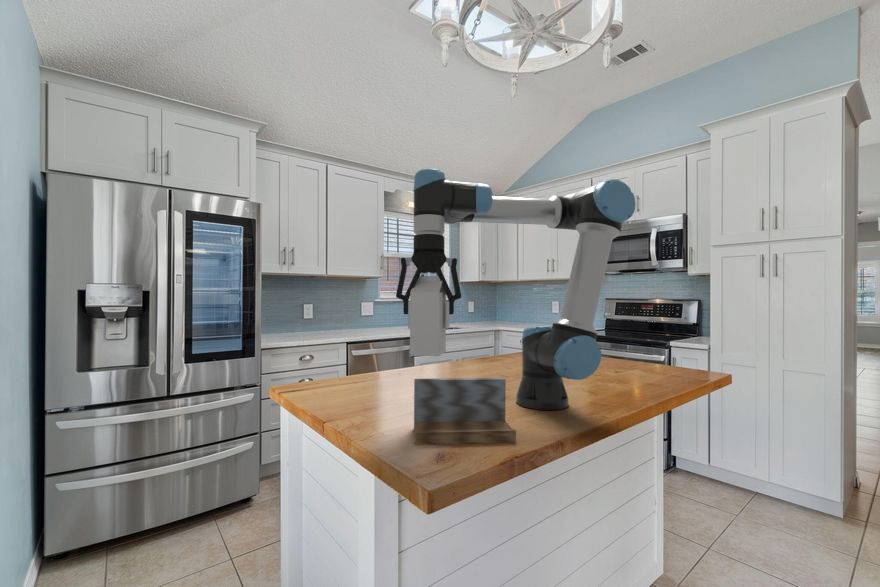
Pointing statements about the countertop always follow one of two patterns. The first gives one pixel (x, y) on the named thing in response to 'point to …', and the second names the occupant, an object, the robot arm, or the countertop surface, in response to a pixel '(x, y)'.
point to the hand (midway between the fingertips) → (428, 328)
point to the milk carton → (427, 317)
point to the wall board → (461, 411)
